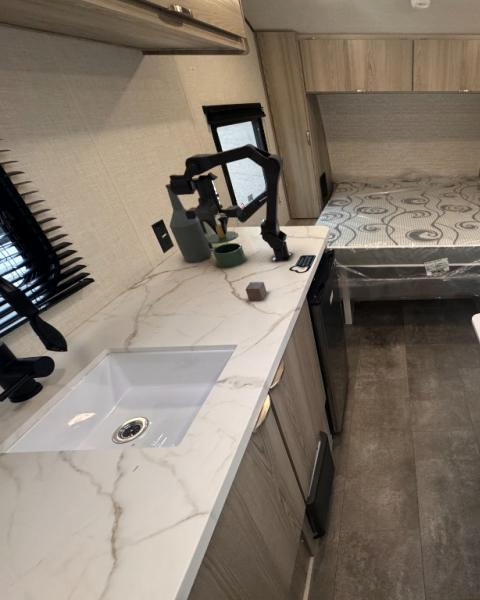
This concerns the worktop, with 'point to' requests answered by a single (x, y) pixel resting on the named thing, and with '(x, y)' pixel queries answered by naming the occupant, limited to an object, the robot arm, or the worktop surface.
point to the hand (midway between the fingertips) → (221, 234)
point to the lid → (222, 236)
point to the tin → (229, 255)
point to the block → (256, 291)
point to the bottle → (187, 232)
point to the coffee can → (209, 233)
